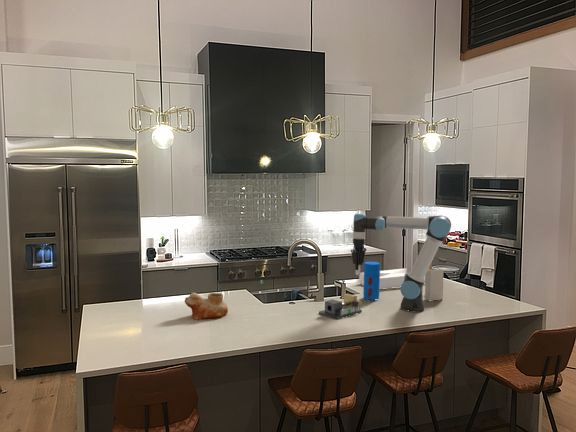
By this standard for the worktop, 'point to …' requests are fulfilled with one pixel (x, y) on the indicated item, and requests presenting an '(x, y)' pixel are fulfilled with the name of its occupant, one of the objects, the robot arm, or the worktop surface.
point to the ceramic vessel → (207, 306)
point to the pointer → (355, 304)
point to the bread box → (388, 278)
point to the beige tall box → (434, 284)
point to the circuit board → (338, 309)
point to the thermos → (371, 280)
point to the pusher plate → (350, 300)
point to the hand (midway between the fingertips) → (357, 274)
